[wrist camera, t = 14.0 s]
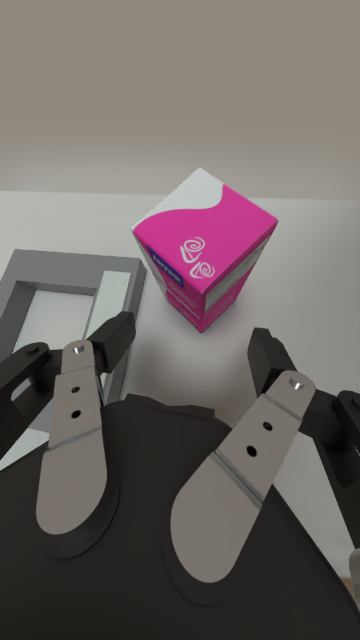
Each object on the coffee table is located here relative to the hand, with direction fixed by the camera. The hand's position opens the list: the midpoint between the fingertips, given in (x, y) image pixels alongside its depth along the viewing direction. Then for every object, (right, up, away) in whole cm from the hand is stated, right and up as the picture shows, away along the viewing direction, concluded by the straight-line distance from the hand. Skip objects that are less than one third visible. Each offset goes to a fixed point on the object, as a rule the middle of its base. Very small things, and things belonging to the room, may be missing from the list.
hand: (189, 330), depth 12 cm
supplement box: (+2, +3, +8) cm, 9 cm away
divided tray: (-15, -1, +9) cm, 17 cm away
